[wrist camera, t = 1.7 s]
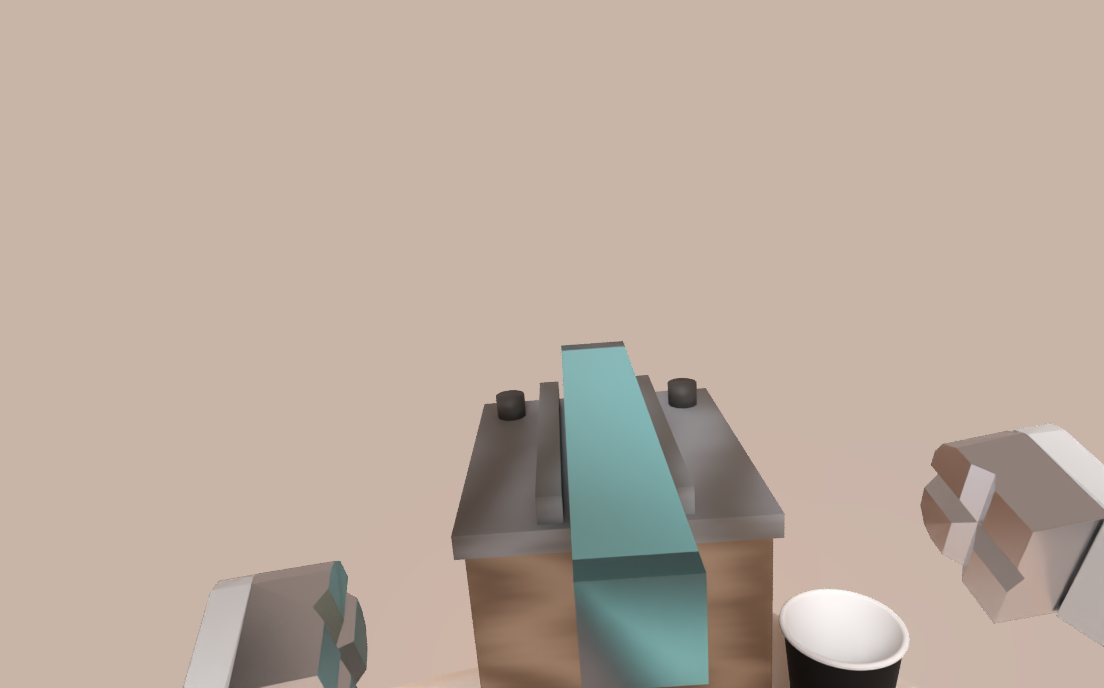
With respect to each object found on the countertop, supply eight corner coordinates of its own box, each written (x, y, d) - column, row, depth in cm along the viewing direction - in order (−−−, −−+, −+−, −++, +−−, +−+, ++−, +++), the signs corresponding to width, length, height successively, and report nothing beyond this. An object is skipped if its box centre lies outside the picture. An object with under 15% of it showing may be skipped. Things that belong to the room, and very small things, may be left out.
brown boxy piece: (504, 956, 39) (447, 508, 32) (518, 717, 56) (482, 384, 48) (778, 940, 39) (785, 485, 32) (711, 705, 56) (705, 368, 48)
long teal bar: (582, 692, 23) (573, 582, 22) (565, 403, 48) (561, 345, 47) (708, 684, 23) (706, 573, 22) (625, 399, 48) (622, 341, 47)
